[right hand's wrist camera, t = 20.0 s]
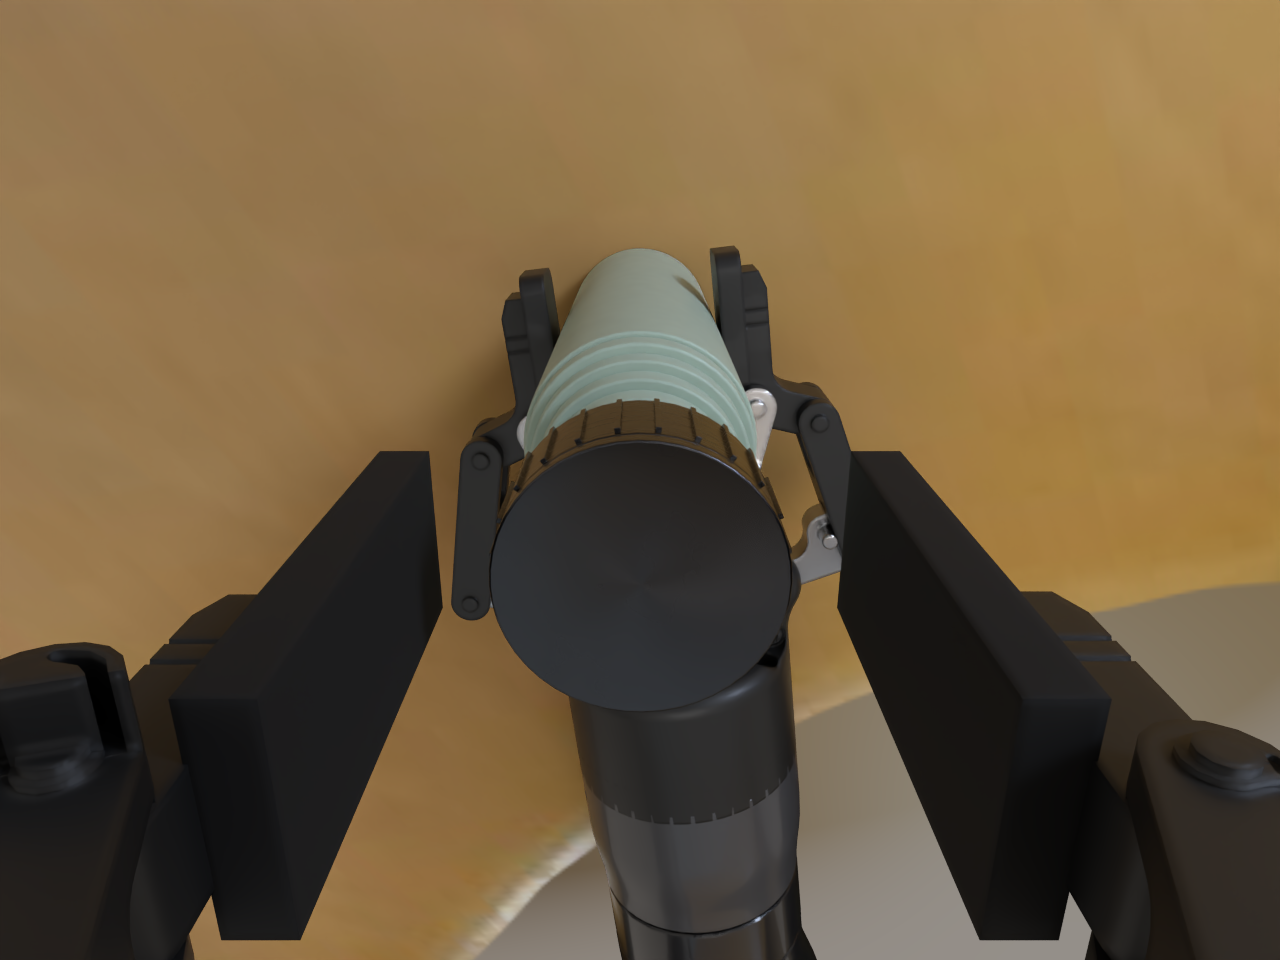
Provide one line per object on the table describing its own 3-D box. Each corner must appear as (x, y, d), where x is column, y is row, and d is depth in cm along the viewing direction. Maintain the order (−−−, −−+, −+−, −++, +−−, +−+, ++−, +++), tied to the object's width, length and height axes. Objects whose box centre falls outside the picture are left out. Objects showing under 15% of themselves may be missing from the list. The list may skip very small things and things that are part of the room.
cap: (831, 523, 14) (860, 581, 12) (643, 689, 15) (643, 766, 13) (636, 337, 13) (636, 370, 11) (450, 529, 14) (420, 588, 12)
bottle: (631, 219, 31) (617, 336, 12) (732, 306, 32) (871, 544, 13) (547, 324, 32) (413, 582, 13) (648, 404, 33) (660, 753, 14)
